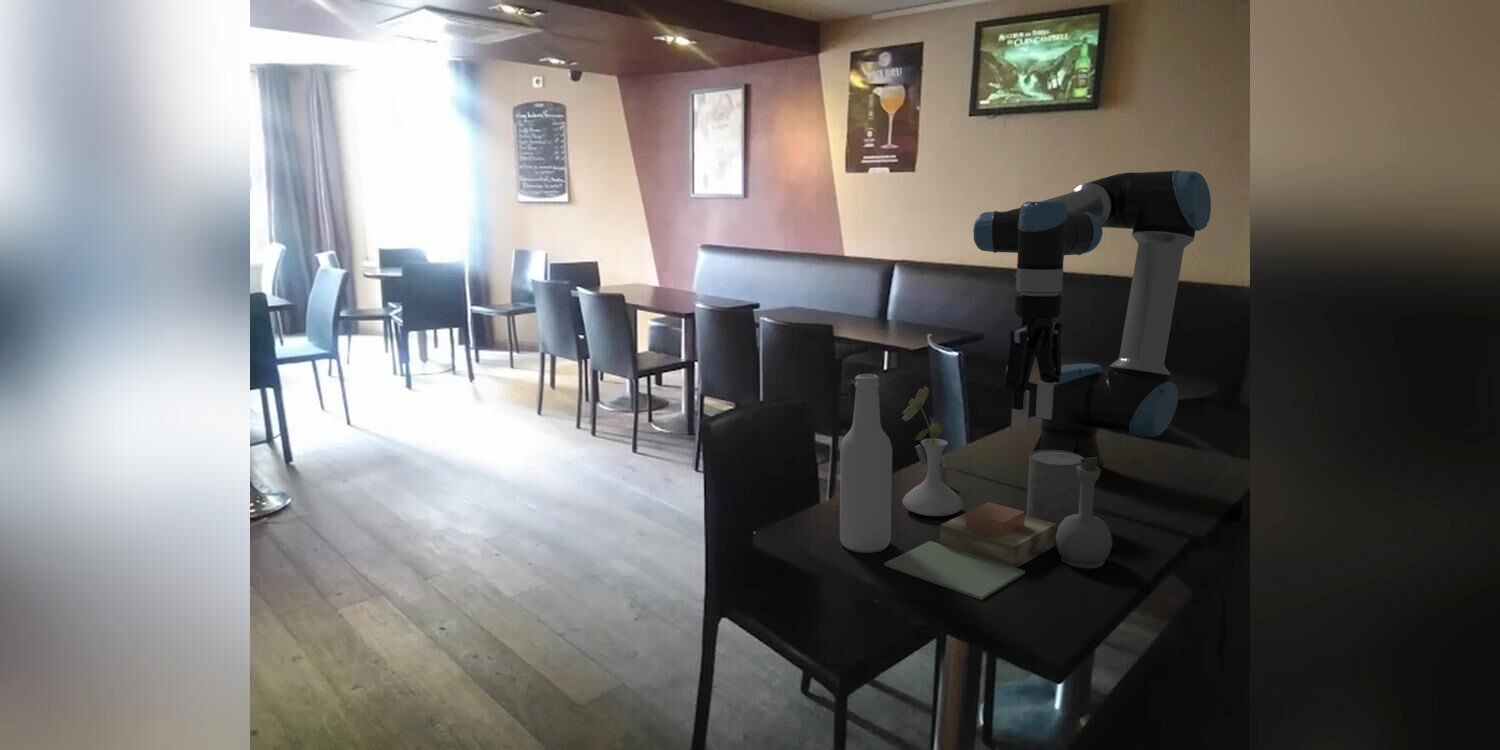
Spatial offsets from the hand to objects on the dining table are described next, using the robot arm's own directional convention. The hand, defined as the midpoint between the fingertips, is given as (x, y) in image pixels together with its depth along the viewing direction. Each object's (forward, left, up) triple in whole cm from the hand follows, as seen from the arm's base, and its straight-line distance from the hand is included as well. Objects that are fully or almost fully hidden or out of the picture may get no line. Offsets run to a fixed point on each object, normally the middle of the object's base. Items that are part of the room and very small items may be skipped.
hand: (1031, 422), depth 154 cm
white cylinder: (-8, +1, -20) cm, 22 cm away
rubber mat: (+24, 0, -20) cm, 31 cm away
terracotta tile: (+11, 0, -16) cm, 20 cm away
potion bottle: (+6, +13, -20) cm, 25 cm away
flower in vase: (+4, -18, -20) cm, 28 cm away
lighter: (-11, -28, -20) cm, 36 cm away
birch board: (+10, 0, -20) cm, 23 cm away
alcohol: (+25, -17, -20) cm, 36 cm away
